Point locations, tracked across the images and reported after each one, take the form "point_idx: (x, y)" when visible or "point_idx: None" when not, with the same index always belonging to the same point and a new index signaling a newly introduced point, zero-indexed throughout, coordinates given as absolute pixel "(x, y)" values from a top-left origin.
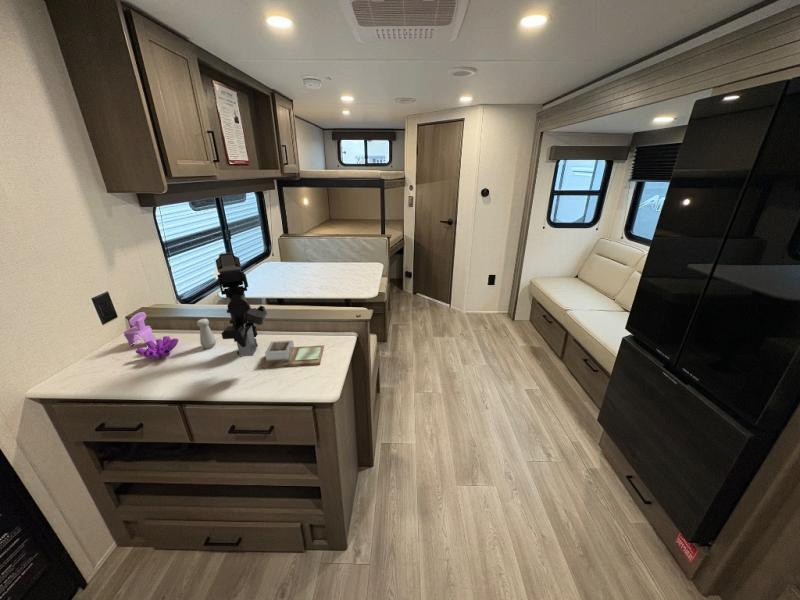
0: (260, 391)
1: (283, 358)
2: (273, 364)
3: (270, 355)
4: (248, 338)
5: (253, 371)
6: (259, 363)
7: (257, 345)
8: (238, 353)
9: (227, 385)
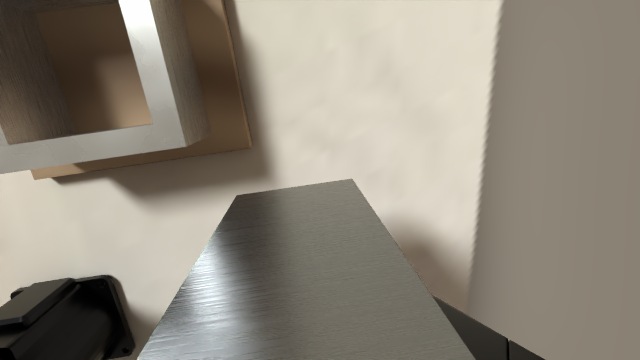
0: (467, 59)
1: (173, 7)
2: (227, 80)
3: (185, 104)
4: (429, 300)
5: (288, 184)
6: (207, 188)
7: (20, 289)
8: (133, 347)
9: (407, 253)
